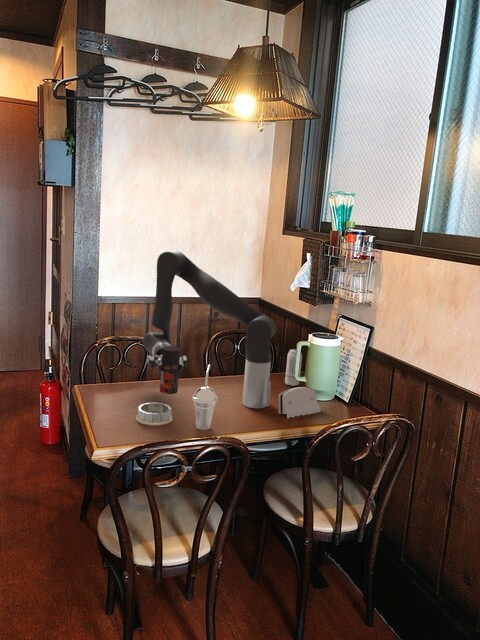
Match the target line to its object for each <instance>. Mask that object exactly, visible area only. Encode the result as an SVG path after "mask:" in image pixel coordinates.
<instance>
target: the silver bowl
mask: <svg viewBox="0 0 480 640" xmlns="http://www.w3.org/2000/svg"><path fill="white" fill-rule="evenodd" d="M135 420H136V422H137V423H139V424H141V425H144V426H149V427H161V426H166V425H168V424H171V422H172V421H173V415H172V408H171V406H170V405H168V404H167V403H164V402H163V403H162V402H155V401H154V402H146V403H141V404H139V406H137V414H136V415H135Z"/></svg>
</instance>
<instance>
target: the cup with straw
mask: <svg viewBox="0 0 480 640" xmlns="http://www.w3.org/2000/svg"><path fill="white" fill-rule="evenodd" d="M206 368H207V370H206V371H205V372H206V373H205V380H204V381H205V383H204V384H205V385H204V386H201V387H198V388H197V390H195V392H194V394H192V397H191V400H193V404H194V407H195V408H194V410H195V414H194V415H195V425H196V426H195V428H196V429H198V430H202V431H207V430H210V428H211V424H212V419H213V413H214V409H215V406H216V402H218V401H219V397H218V396H217V394H216V392H215V389H213V388H212V387H210V386H208V381H209V372H210V369H211V364H208V366H207V367H206Z"/></svg>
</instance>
